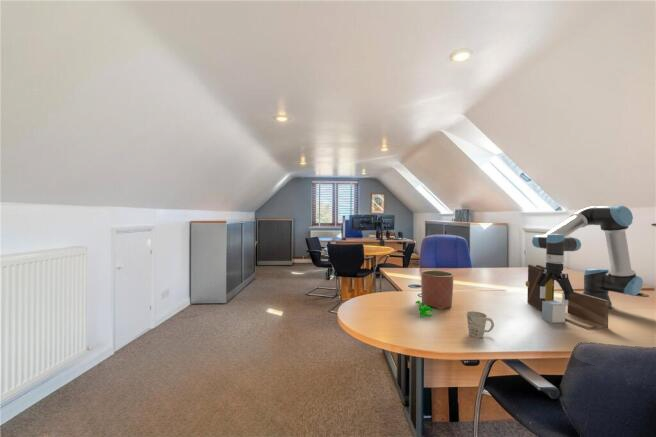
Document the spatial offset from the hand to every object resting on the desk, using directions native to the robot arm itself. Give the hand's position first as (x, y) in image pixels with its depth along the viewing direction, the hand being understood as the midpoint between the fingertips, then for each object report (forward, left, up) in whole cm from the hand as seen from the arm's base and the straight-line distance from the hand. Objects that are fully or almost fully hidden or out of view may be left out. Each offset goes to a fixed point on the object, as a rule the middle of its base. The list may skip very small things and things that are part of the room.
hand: (553, 301), depth 157 cm
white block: (0, 0, -10) cm, 10 cm away
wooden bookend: (-13, +2, -10) cm, 17 cm away
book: (-12, -22, -11) cm, 27 cm away
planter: (+50, -32, -11) cm, 60 cm away
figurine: (+67, -13, -11) cm, 69 cm away
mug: (+52, +14, -11) cm, 55 cm away
